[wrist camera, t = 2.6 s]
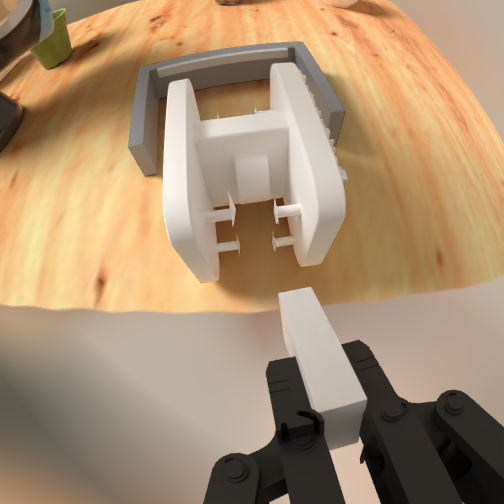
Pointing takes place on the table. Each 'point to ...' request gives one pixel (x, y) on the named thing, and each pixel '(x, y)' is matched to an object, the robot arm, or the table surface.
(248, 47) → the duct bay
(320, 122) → the cable organizer
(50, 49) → the plant pot
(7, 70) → the coffeecake box
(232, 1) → the grey lumpy rounded piece
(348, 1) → the lidded jar
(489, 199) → the table surface
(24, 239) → the table surface
